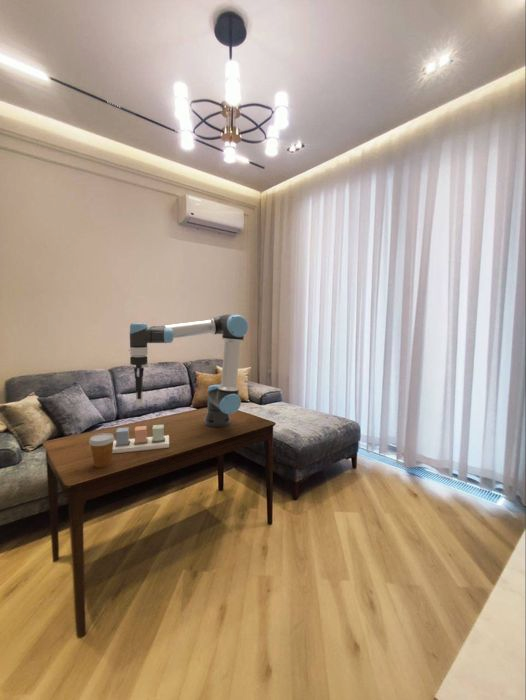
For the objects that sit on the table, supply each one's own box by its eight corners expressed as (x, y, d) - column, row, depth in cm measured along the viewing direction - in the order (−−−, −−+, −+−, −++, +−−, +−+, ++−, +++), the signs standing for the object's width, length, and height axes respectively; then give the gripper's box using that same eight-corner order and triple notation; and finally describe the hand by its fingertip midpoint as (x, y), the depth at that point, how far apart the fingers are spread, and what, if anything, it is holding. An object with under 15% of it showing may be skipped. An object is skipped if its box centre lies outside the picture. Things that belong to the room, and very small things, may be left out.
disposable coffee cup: (96, 459, 133) (95, 432, 131) (118, 458, 133) (118, 432, 132) (85, 470, 123) (84, 441, 122) (109, 469, 124) (108, 441, 123)
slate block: (129, 439, 147) (128, 427, 147) (128, 443, 142) (127, 431, 142) (117, 440, 146) (117, 428, 145) (116, 444, 141) (115, 432, 140)
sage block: (163, 435, 152) (163, 424, 151) (163, 439, 147) (163, 427, 147) (153, 436, 151) (152, 425, 150) (152, 440, 146) (152, 428, 145)
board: (168, 438, 156) (168, 435, 156) (169, 447, 146) (169, 443, 145) (113, 444, 148) (113, 440, 148) (109, 454, 138) (109, 449, 137)
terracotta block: (146, 437, 150) (146, 425, 149) (146, 441, 145) (145, 429, 144) (135, 438, 148) (135, 426, 147) (134, 442, 143) (134, 430, 143)
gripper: (131, 354, 147) (132, 401, 150) (128, 357, 135) (129, 409, 137) (148, 354, 149) (148, 400, 152) (146, 357, 137) (147, 408, 139)
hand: (139, 404), depth 145 cm, fingers closed
